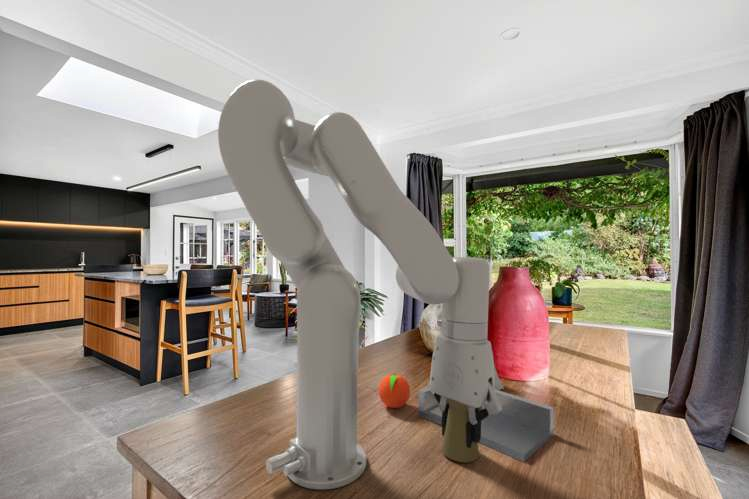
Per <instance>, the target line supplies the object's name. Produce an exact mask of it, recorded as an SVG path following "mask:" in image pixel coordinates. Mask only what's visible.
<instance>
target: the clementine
mask: <svg viewBox="0 0 749 499" xmlns="http://www.w3.org/2000/svg"><path fill="white" fill-rule="evenodd" d="M378 395H379V398H380V400H381V402H382V403H383V404H384V405H385V406H387V407H388V408H392V409H399V408H401V407H403V406H405V405H406V404H407V403H408V401H409V398H410V396H411V386H410V384H409V382H408V380H407V379H406V378H405V377H404V376H403V375H401V374H398V373H391V374H390V373H389V374H388V375H387V376H384V378H382V380H381V382H380V384H379V387H378Z"/></svg>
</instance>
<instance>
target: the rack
mask: <svg viewBox="0 0 749 499" xmlns="http://www.w3.org/2000/svg"><path fill="white" fill-rule="evenodd" d="M494 392H495V394H496V396H497V398H498V400H499V402H500V404H501V407H502V411H501V412H499V413H498V414H495V415H491V416H488V417H486V418H485V419H483V420H482V421H481V439H480V441H479V442H478V443H480V444H482V445H485V446H487V447H488V448H491V449H494V450H495V451H498V452H501V453H502V454H505V455H507V456H510V457H512V458H513V459H516V460H518V461H520V462H523V463H525V462H526V461H527V460H529V459H530V457H531V456H532V455H533V454H535V453H536V452H537V451H538V450H539V449H540V448H541V447H543V446H544V444H545V443H546V442H548V441H549V440H550V439H551V438H552V437H553V436H554V435H555V428H554V406H550V405H547V404H544V403H541V402H537V401H534V400H531V399H528V398H524V397H521V396H518V395H515V394H511V393H507V392H506V391H502V390H496V389H495V390H494ZM483 406H484V408H486V407H489V404H488V402H487V401H485V404H484V405H483ZM417 407H418V408H417V409H418V410H417V411H418V412H417V414H418V415H417V416H419V417H421V418H423V419H426V420H427V421H430V422H432V423H435V424H436V425H439V426H441V427H442V411H440V409H439V403H438V402H437V400H436V398H435V396H434V394H433V393H432V392H431V391H430V390H429V388H428V387H427V386H426V387H423V388H420V389H418V405H417Z"/></svg>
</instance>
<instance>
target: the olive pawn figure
mask: <svg viewBox="0 0 749 499" xmlns="http://www.w3.org/2000/svg"><path fill="white" fill-rule="evenodd" d="M446 399H447V402H448V404H449V409H448V415H447V422H446V427H445V433H444V436H443V441H442V446H441V447H442V448H441V451H442V454H443V455H444V456H445V457H447V458H448V459H450V460H453V461H455V462H459V463H472V462H475V461H477V459H479V446H478V445H479V442H478V443H475V442H472V445H471V448H468V447H467V445H466V423H467V422H469V421H470V420H469V411H468V407H469V406H467V405H464V404H461V403H459V402H457V401H454V400H452V399H448V398H446Z"/></svg>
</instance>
